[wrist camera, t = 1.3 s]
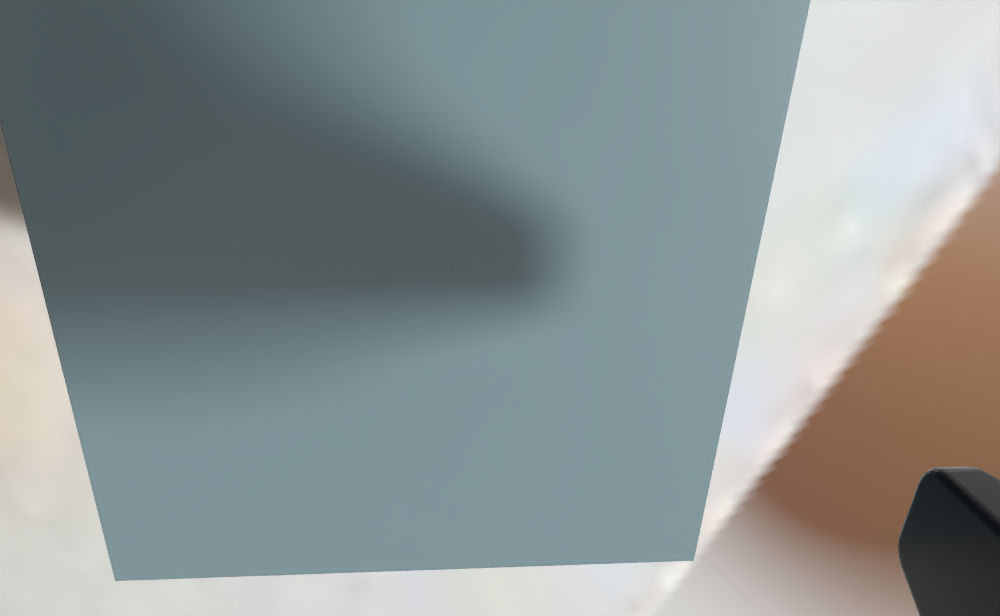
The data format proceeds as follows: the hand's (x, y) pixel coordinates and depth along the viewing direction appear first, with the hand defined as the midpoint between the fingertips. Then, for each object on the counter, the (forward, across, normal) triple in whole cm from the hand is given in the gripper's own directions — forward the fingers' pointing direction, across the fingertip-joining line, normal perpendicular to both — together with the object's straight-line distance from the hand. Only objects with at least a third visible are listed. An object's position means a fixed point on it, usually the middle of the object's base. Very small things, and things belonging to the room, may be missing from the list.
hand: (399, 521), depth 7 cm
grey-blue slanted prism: (+12, 0, 0) cm, 12 cm away
